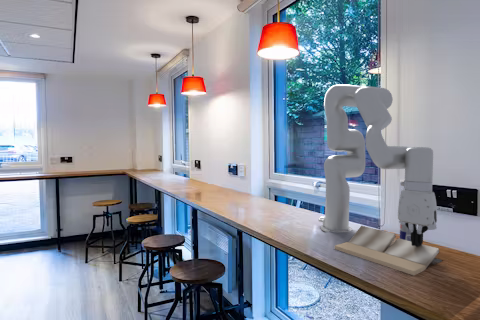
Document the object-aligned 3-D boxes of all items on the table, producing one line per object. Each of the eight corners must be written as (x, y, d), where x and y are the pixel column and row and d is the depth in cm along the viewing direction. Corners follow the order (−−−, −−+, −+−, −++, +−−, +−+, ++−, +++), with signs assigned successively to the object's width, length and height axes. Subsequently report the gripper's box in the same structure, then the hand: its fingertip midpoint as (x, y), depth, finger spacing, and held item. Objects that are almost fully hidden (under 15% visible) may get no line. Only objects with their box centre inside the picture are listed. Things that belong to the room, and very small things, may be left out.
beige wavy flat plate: (349, 244, 113) (348, 242, 112) (362, 228, 117) (361, 225, 116) (383, 255, 103) (382, 252, 102) (395, 236, 107) (394, 233, 106)
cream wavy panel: (384, 255, 102) (384, 252, 102) (398, 241, 107) (398, 238, 107) (426, 268, 92) (425, 264, 92) (439, 251, 97) (438, 248, 97)
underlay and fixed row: (330, 253, 107) (330, 246, 107) (366, 241, 120) (366, 236, 119) (410, 281, 86) (410, 273, 86) (443, 263, 99) (443, 256, 99)
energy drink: (401, 242, 120) (402, 210, 119) (417, 245, 116) (418, 212, 115) (397, 245, 115) (399, 212, 115) (414, 249, 112) (415, 215, 111)
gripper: (388, 185, 103) (387, 241, 104) (439, 190, 91) (437, 254, 92) (400, 183, 108) (398, 237, 108) (450, 188, 96) (448, 249, 96)
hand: (416, 245), depth 100 cm, fingers closed
